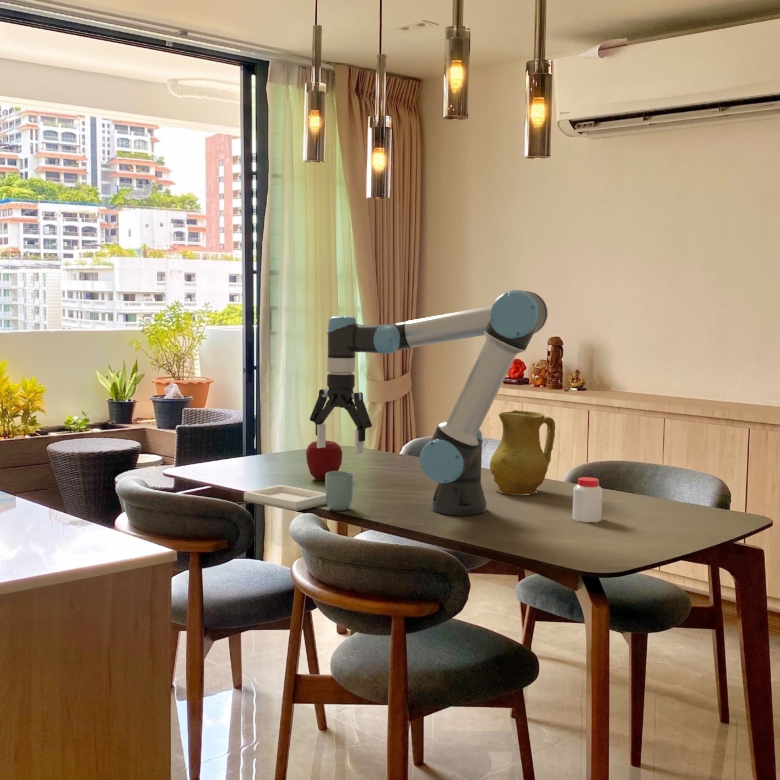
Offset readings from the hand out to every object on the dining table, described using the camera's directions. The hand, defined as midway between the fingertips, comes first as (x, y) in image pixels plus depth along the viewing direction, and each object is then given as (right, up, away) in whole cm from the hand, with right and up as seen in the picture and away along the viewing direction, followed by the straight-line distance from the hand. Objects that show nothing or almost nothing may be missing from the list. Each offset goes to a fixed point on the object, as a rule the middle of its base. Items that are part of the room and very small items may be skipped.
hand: (339, 450), depth 269 cm
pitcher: (+54, -15, +31) cm, 64 cm away
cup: (0, -17, +1) cm, 17 cm away
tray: (-15, -15, +10) cm, 24 cm away
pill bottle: (+67, -19, -5) cm, 70 cm away
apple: (-7, -12, +45) cm, 47 cm away
